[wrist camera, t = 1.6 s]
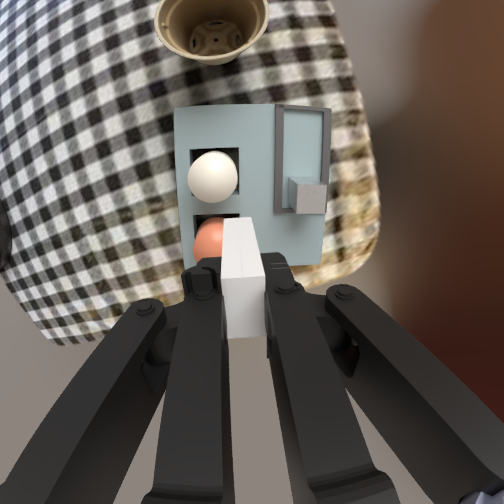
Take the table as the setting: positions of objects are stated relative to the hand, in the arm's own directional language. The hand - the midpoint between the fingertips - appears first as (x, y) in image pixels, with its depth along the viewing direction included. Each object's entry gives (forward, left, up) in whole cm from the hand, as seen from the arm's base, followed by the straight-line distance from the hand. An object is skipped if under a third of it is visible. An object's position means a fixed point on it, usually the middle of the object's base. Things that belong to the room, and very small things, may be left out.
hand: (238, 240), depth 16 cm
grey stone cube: (+7, 0, -14) cm, 15 cm away
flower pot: (-2, +17, -17) cm, 24 cm away
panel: (+2, 0, -16) cm, 16 cm away
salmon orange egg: (-2, -5, -14) cm, 15 cm away
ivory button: (-2, +2, -14) cm, 14 cm away
